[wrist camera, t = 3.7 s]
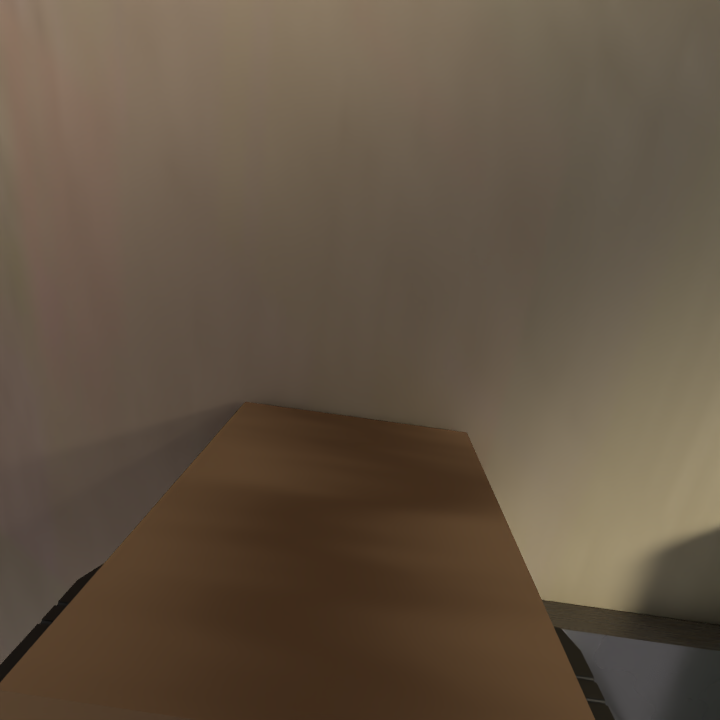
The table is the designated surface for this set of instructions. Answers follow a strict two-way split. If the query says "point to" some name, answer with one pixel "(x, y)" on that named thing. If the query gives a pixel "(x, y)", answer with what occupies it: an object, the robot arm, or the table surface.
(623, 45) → the table surface
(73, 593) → the robot arm
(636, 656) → the pin
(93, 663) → the bore block
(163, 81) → the table surface
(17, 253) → the table surface
